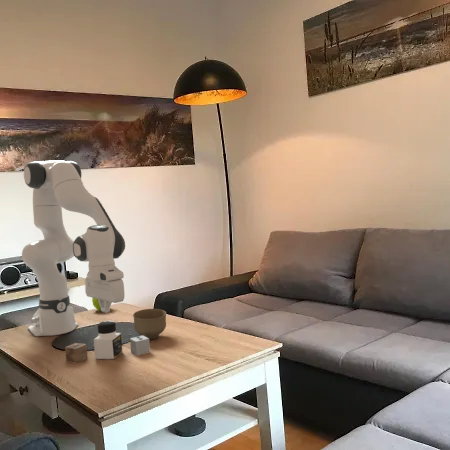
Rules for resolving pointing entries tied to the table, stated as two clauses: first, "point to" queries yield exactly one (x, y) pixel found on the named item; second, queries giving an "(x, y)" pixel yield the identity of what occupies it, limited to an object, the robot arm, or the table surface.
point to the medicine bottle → (107, 341)
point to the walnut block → (76, 352)
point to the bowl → (150, 322)
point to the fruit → (96, 304)
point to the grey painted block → (139, 345)
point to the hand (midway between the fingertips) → (105, 311)
